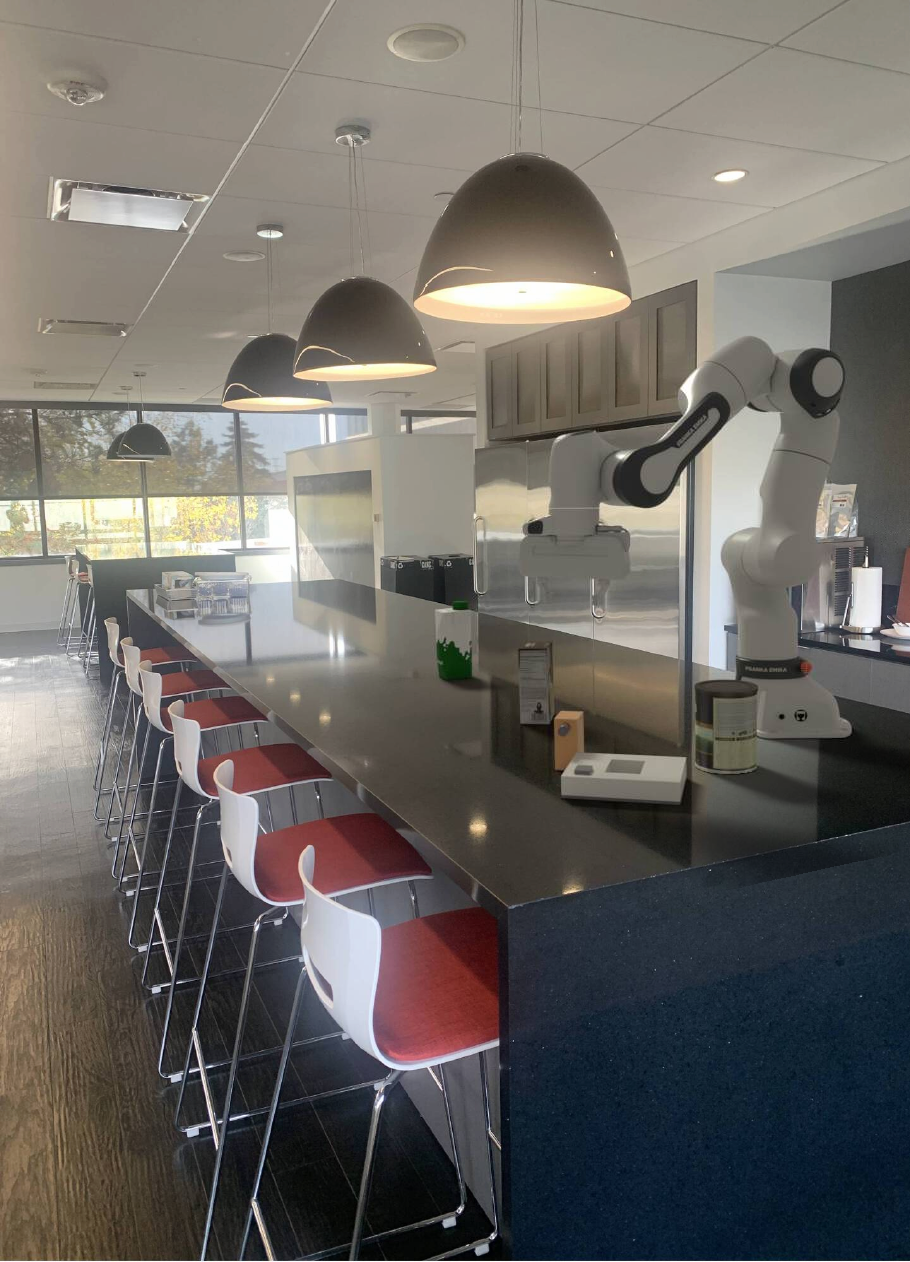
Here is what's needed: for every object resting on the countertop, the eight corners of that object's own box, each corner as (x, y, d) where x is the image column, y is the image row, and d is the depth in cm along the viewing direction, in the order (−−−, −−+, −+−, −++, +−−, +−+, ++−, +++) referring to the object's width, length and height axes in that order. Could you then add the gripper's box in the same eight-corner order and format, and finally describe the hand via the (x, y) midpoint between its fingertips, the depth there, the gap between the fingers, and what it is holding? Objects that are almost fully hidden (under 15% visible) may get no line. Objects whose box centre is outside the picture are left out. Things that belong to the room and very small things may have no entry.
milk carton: (476, 678, 248) (474, 602, 245) (443, 681, 245) (440, 604, 242) (466, 672, 256) (463, 599, 253) (434, 675, 254) (431, 601, 251)
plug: (584, 761, 167) (583, 711, 165) (575, 776, 158) (574, 723, 157) (561, 760, 168) (560, 710, 167) (551, 774, 159) (550, 722, 158)
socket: (686, 778, 155) (686, 753, 154) (680, 805, 141) (680, 778, 141) (577, 772, 160) (576, 748, 160) (561, 797, 147) (560, 772, 146)
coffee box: (525, 714, 205) (523, 641, 202) (554, 714, 203) (553, 640, 201) (519, 724, 196) (517, 647, 194) (550, 724, 194) (548, 647, 192)
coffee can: (684, 769, 160) (683, 687, 158) (710, 755, 168) (710, 677, 166) (742, 778, 153) (743, 693, 151) (767, 763, 161) (767, 682, 159)
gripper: (636, 525, 162) (635, 605, 164) (530, 524, 173) (529, 599, 175) (623, 525, 157) (622, 608, 159) (514, 525, 168) (514, 602, 169)
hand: (572, 603), depth 167 cm, fingers open, 8 cm apart
